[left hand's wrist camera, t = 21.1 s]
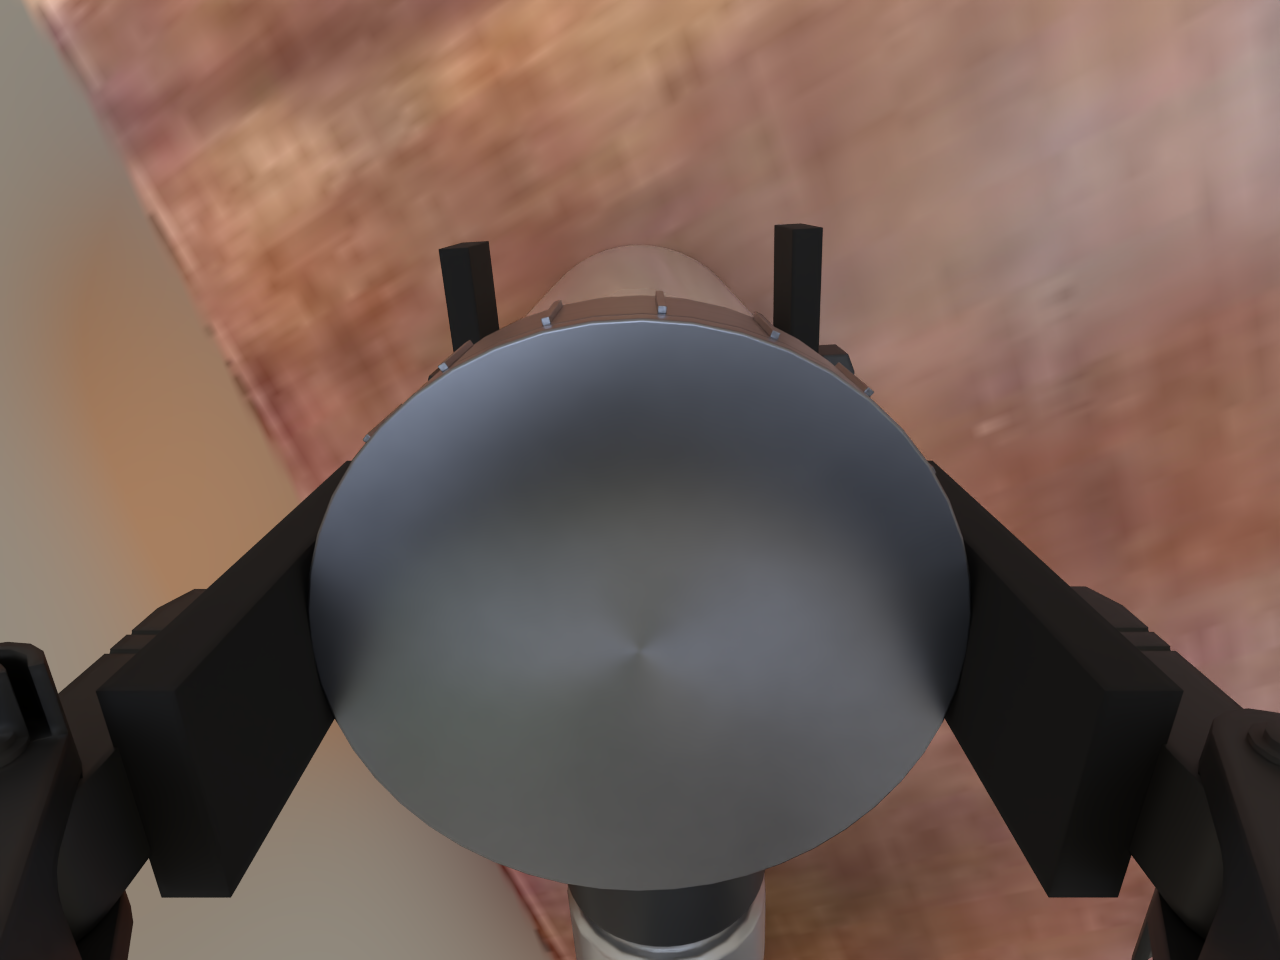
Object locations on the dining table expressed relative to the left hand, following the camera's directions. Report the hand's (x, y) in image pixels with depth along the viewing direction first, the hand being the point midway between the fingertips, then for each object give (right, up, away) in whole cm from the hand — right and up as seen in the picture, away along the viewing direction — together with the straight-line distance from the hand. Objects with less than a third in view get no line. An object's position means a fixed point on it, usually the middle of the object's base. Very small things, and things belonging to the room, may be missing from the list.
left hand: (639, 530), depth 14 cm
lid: (0, -1, -3) cm, 3 cm away
